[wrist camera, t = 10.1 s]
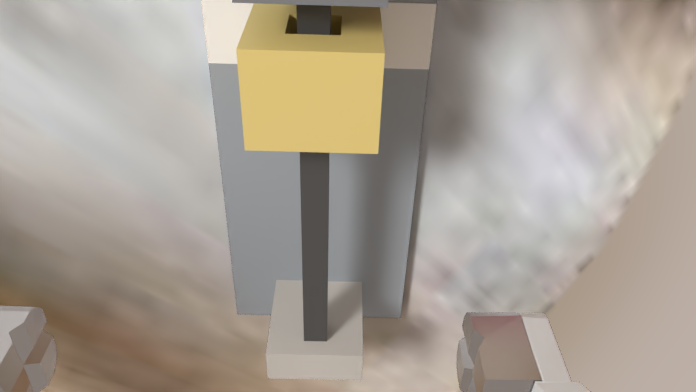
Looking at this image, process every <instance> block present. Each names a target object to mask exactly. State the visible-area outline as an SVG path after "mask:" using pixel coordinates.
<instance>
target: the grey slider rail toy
mask: <svg viewBox="0 0 696 392" xmlns="http://www.w3.org/2000/svg"><path fill="white" fill-rule="evenodd" d="M201 3H202V11H203V20H204V29H205V37H206V46H207V55H208V63H209V70H210V79H211V88H212V96H213V105H214V114H215V122H216V131H217V140H218V149H219V157H220V166H221V175H222V183H223V192H224V201H225V210H226V218H227V227H228V236H229V244H230V253H231V262H232V270H233V279H234V288H235V297H236V305H237V314H249V315H271V320H270V327H269V334H268V341H267V348H266V364H267V376H268V378H276V379H320V380H362V365H363V323H362V317H374V318H400V317H401V309H402V300H403V291H404V283H405V274H406V265H407V256H408V248H409V239H410V230H411V222H412V213H413V204H414V195H415V187H416V178H417V169H418V161H419V152H420V143H421V135H422V126H423V117H424V108H425V100H426V91H427V82H428V74H429V66H430V57H431V49H432V40H433V31H434V23H435V14H436V5H437V0H201ZM254 3H258V4H292V5H296V11H297V34H314V35H331V6H359V7H380V12H381V21H382V31H383V40H384V50H385V59H384V74H383V89H382V104H381V119H380V133H379V148H378V154H358V153H321V152H284V151H247V150H245V148H244V136H243V124H242V112H241V101H240V89H239V77H238V65H237V54H236V48H237V46H238V43H239V41H240V38H241V35H242V33H243V30H244V28H245V25H246V22H247V20H248V17H249V15H250V12H251V9H252V7H253V4H254Z"/></svg>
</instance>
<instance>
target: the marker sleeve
mask: <svg viewBox="0 0 696 392" xmlns="http://www.w3.org/2000/svg"><path fill="white" fill-rule="evenodd" d="M236 54H237V65H238V77H239V89H240V101H241V112H242V124H243V136H244V148H245V150H247V151H284V152H321V153H358V154H378V148H379V133H380V119H381V104H382V89H383V74H384V59H385V50H384V40H383V31H382V21H381V12H380V7H359V6H331V35H314V34H297V11H296V5H292V4H258V3H254V4H253V7H252V9H251V12H250V15H249V17H248V20H247V22H246V25H245V28H244V30H243V33H242V35H241V38H240V41H239V43H238V46H237V48H236Z"/></svg>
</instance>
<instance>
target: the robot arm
mask: <svg viewBox="0 0 696 392" xmlns="http://www.w3.org/2000/svg"><path fill="white" fill-rule="evenodd" d="M46 321H47V319H46V317H45V314H44V312H43V310H42V308H38V307H25V306H0V392H40V391H41V390H42V389H44V388H45V387H46V386H48V385H49V383H50V381H51V378H52V376H53V374H54V371H55V365H56V360H57V350H56V343H55V340H54V338H53V336H52V335H51V334H49V333H48V332H47V331H45V330H44V329H43V327H44V325H45V323H46ZM462 326H463V331H464V336H465V337H464V338H462V339H461V340H460V341H459V345H458V350H457V375H458V382H459V388H460V390H461V391H462V392H591V391H589V390H588V389H587V388H586V387H585V386H584V385H582V384H581V383H580V382H572V381H571V378H570V375H569V373H568V370H567V368H566V365H565V362H564V360H563V357H562V354H561V352H560V349H559V346H558V344H557V341H556V338H555V336H554V333H553V331H552V328H551V325H550V322H549V320H548V317H547V316H546V315H545V314H544V313H506V312H467V313H466V315H465V317H464V321H463V325H462Z"/></svg>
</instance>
